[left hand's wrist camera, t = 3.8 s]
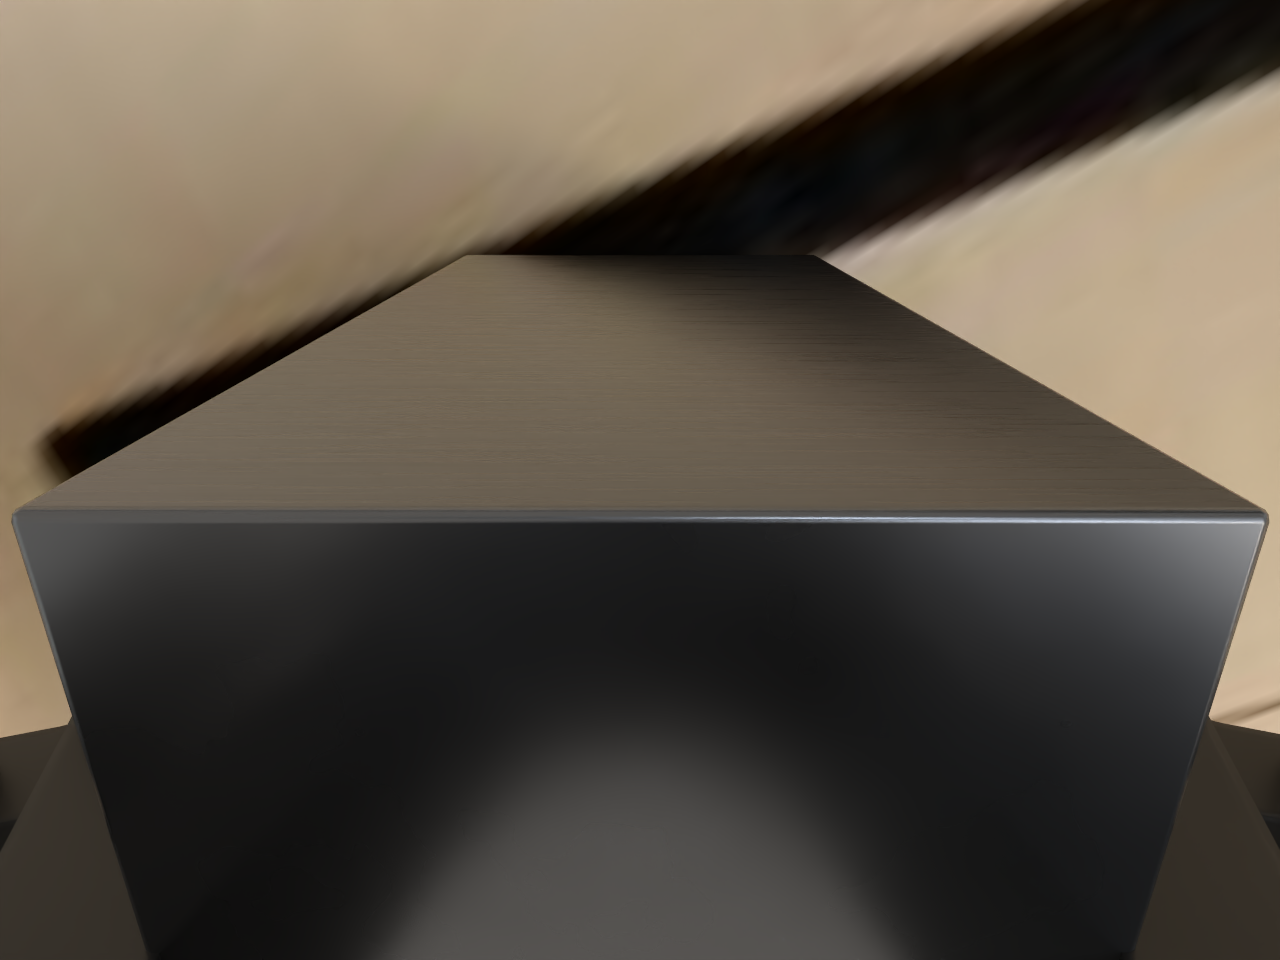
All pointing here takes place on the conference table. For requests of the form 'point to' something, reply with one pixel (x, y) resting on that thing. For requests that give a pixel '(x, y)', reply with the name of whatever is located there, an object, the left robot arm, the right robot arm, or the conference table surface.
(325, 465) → the box
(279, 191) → the conference table surface
